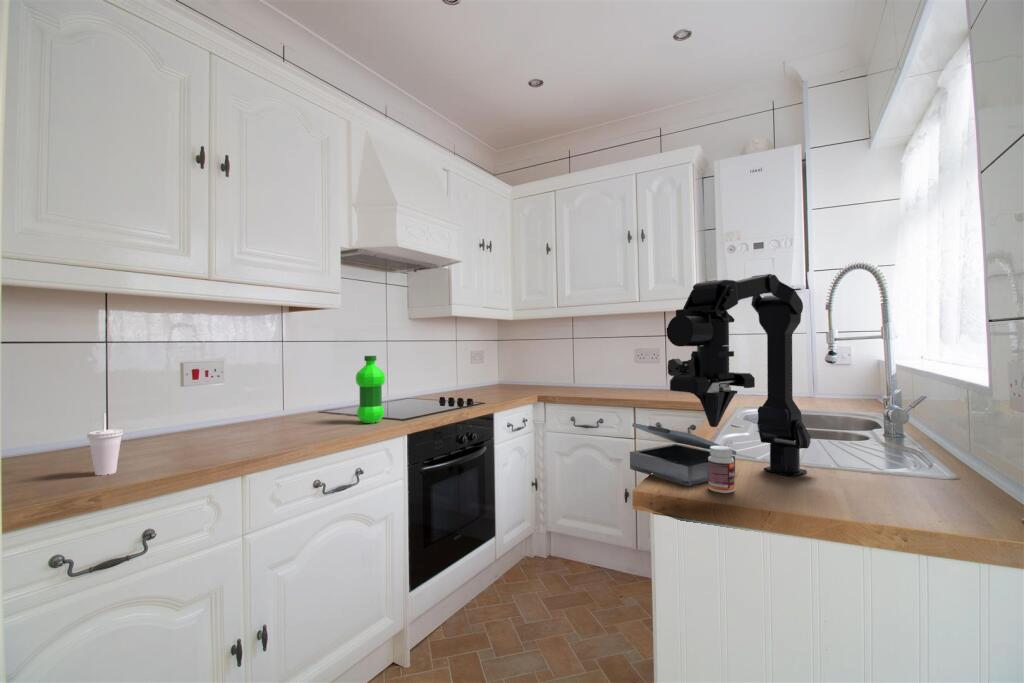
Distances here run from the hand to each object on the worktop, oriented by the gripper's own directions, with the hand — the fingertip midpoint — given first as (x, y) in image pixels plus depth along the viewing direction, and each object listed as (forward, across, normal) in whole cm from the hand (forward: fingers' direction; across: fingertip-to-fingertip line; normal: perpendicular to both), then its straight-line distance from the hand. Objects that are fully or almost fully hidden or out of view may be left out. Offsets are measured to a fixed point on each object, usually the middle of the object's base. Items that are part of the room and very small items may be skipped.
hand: (713, 426), depth 92 cm
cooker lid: (+6, -8, -14) cm, 17 cm away
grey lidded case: (+13, -8, -14) cm, 21 cm away
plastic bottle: (+13, +32, -122) cm, 127 cm away
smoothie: (+13, +103, -86) cm, 135 cm away
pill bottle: (+13, -4, -1) cm, 14 cm away
